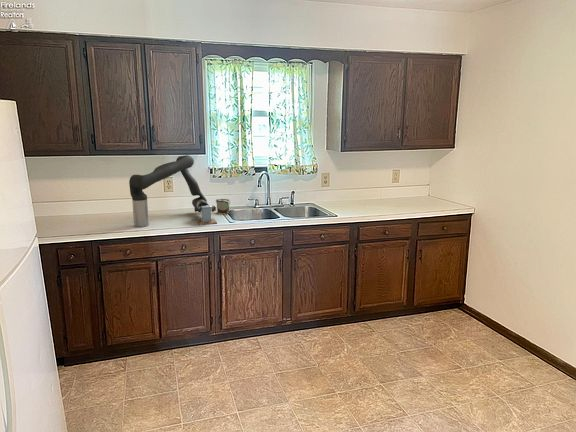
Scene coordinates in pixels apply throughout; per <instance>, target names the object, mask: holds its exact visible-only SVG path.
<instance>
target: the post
mask: <svg viewBox="0 0 576 432" xmlns="http://www.w3.org/2000/svg"><path fill="white" fill-rule="evenodd" d="M195 220H196V222H197V224H198V225H199V226H200V225H201V226H204V225H217V224H218V222H217V221H216V219H215V218H211V222H202V218H201V219H195Z"/></svg>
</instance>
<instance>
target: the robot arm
mask: <svg viewBox="0 0 576 432" xmlns="http://www.w3.org/2000/svg"><path fill="white" fill-rule="evenodd" d="M194 164H195V160H194V158H193V157H192V156H191V155H187V154H184V155H180V156H177V158H176V159H175V160H174V161H170V162H167V163H163V164H161V165H159V166H157V167H155V168H154V170H153V171H152V172H150V173H147V174H143V175H142V174H132V175H130V177H129V181H128V184H129V185H128V186H129V192H130V197H131V200H132V214H133V215H132V216H133V217H132V218H133V227H134V228H143V227H148V226H149V207H148V205H149V204H148V195H147V194H146V193H145V192H144V191H143V190H146V189H147V188H150V187H151V186H152V185H154V184H156V183H157V182H161V181H163V180H166V179H168V178H169V177H171V176H174V175H175V174H177V173H178V172H180V173H181V175H182V177H183V178H184V180H185V183H186V185H187V187H188V189H189V192H190V194H191V195H192V196H193V197H196V196H198V197H196V198H193V199H192V201H191V204H192V207H193V208H194V212H195V213H197V212H198V213H201V206H210V207H211V213H213V212H215V211H217V206H215V205H212V206H211V205H210V204H209V203H208V200H207V198H206V197H205V196H204V194H203V193H202V191H201V189H200V186H199V183H198V182H197V181H196V179H195V177H193V175H192V173H190V171H189V169H190V168H192V167H193V166H194Z"/></svg>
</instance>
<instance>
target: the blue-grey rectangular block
mask: <svg viewBox="0 0 576 432" xmlns="http://www.w3.org/2000/svg"><path fill="white" fill-rule="evenodd" d="M210 206H211V205H209V206H201V217H200V218H201V219H202V222H211V219H212V211H211V210H212V208H211V207H212V206H211V207H210Z"/></svg>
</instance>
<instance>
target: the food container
mask: <svg viewBox="0 0 576 432" xmlns="http://www.w3.org/2000/svg"><path fill="white" fill-rule="evenodd" d="M215 203H216V211H217V213H218V214H222V213H225V214H224V215H229V213H230V205H231V200H230V199H228V198H218V199H217V198H216V200H215Z"/></svg>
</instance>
